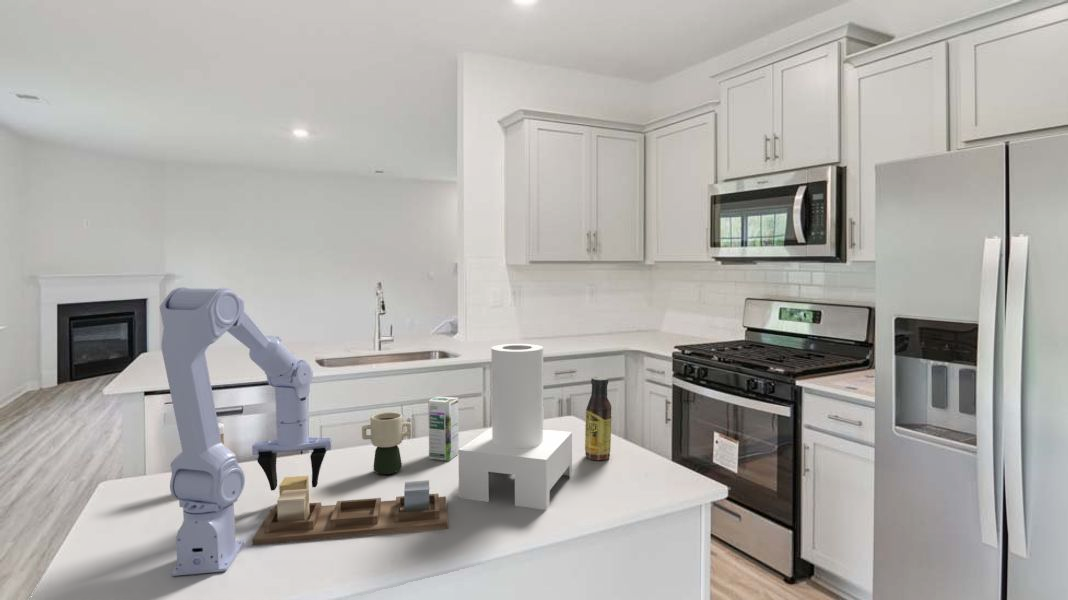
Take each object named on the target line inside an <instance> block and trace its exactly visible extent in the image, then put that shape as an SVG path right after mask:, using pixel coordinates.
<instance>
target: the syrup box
mask: <svg viewBox="0 0 1068 600" xmlns="http://www.w3.org/2000/svg"><path fill="white" fill-rule="evenodd" d="M427 403H428V404H427V405H428V406H427V408H428V410H427V411H428V412H427V413H428V415H427V416H428V417H427V418H428V459H429V460H438V461H439V460H440V461H448V462H450V461H452V460H453V459H454V458H455V457H457V456H459V455H458V450H459V449H460V448H459V447H460V446H459V445H460V444H459V443H460V442H459V441H460V440H459V439H460V437H459V435H460V434H459V432H460V431H459V429H460V428H459V397H451V396H450V397H448V396H435V397H432V398H431V399H429V400H428V401H427Z"/></svg>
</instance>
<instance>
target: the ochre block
mask: <svg viewBox="0 0 1068 600" xmlns="http://www.w3.org/2000/svg"><path fill="white" fill-rule="evenodd" d="M309 487H310V486H309V475H303V476H302V475H300V476H286V477H284V478H283V480H282V481H281V483H280V484H279V486H278V490H279V491H278V492H279V496H280V495H281V493H282V492H283V491H285V490H299V489H309V490H310V488H309Z"/></svg>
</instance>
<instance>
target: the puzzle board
mask: <svg viewBox="0 0 1068 600" xmlns="http://www.w3.org/2000/svg"><path fill="white" fill-rule="evenodd" d="M403 492H404V494H403V495H400V496H396V497H395V499H394V500H382V497H374V498H373V497H372V498H361V499H349V500H348V499H347V500H337V501H336V503H335V504H328V505H322V502H310V488H309V489H299V490H285V491H283V492H282V493H281V495H280V494H279V496H278V499H277V501H276V505H275V507H274V508H273V509H270V510H269V512H268V514H267V515H266V517H265V518H264V520H263V522H262V523H261V525H260V526H259V528H258V529H257V531H256V533H255V535H254V536H253V538H252V541H251V543H252V546H259V545H270V544H281V543H283V544H284V543H294V542H305V541H307V542H308V541H316V540H328V539H339V538H341V539H342V538H351V537H363V536H374V535H388V534H395V533H396V534H397V533H398V534H399V533H408V532H409V533H410V532H420V531H421V532H422V531H432V530H433V531H435V530H446V529H449V520H448V509H447V508H448V507H447V497H446V496H440V495H439V493H430V480H429V479H427V480H415V481H413V480H412V481H404V490H403Z"/></svg>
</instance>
